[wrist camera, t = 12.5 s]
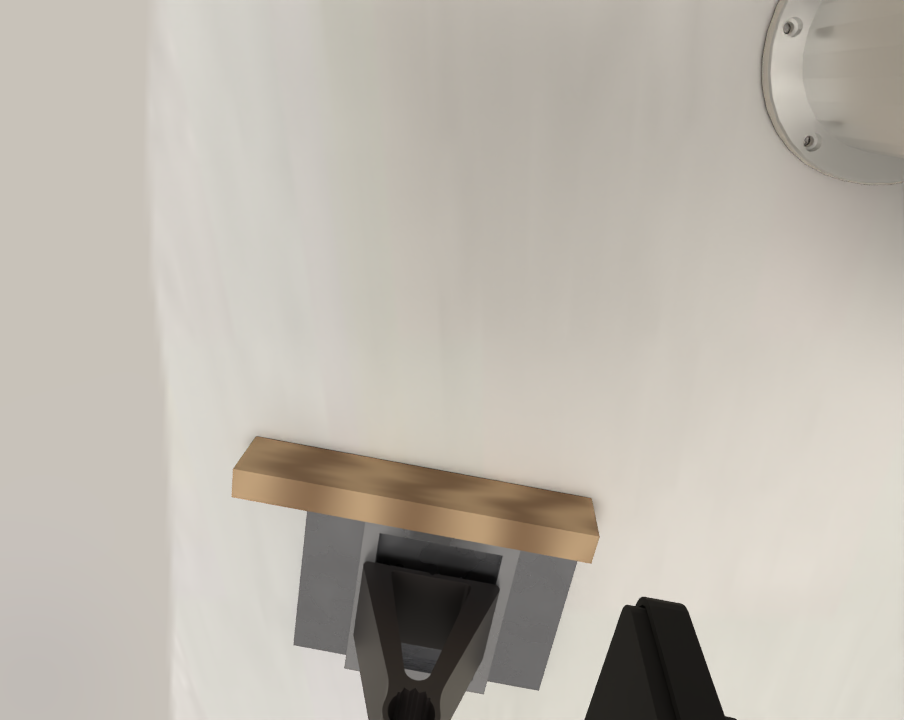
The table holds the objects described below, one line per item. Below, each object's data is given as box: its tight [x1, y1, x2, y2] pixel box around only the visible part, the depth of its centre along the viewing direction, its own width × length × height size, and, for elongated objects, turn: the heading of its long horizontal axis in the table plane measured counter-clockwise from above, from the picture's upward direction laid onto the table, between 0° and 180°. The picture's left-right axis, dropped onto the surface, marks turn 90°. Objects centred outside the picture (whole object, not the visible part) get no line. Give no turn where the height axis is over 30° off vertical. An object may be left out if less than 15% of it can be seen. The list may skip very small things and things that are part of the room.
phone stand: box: [353, 562, 500, 720], centre depth 40 cm, size 9×6×12 cm, turn 80°
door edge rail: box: [232, 436, 600, 563], centre depth 42 cm, size 22×2×4 cm, turn 80°
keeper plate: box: [294, 511, 577, 694], centre depth 46 cm, size 18×13×2 cm
